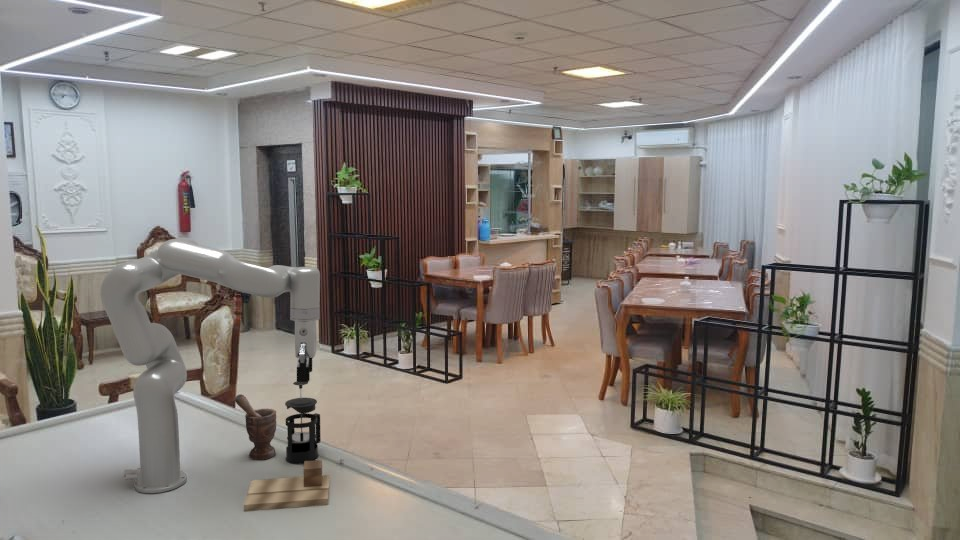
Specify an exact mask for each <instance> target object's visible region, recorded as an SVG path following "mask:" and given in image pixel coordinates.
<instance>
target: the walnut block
mask: <svg viewBox="0 0 960 540" xmlns="http://www.w3.org/2000/svg"><path fill="white" fill-rule="evenodd" d="M302 470H303V477H304V487H313V486H322V475H323V459H320V460H319V459H317V460H314V461H304V464H303V469H302Z"/></svg>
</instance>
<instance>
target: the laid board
mask: <svg viewBox="0 0 960 540" xmlns="http://www.w3.org/2000/svg"><path fill="white" fill-rule="evenodd" d="M329 495H330V487H329V488H326V489H312V490H299V491H285V492H271V493H258V494H248V493H247V494H246V498H245V501H244V504H243V512H249V511H250V512H251V511H252V512H253V511H263V510H276V509H286V508H287V509H288V508H289V509H291V508H302V507H316V506H327V505H329Z"/></svg>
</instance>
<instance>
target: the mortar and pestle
mask: <svg viewBox="0 0 960 540" xmlns="http://www.w3.org/2000/svg"><path fill="white" fill-rule="evenodd" d="M234 401H235V403H236V405H238V407H240V408H241V409H242V410H243V411H244V412H245V415H244V417H245V429H246V432H247V436H248V439H249V441H250V442H251V443H253V445H254V446H253V448H251V450H250V451H249V455H248V456H249V458H250V459H252V460H255V461H262V460H267V459H271V458H273V457H274V456H276V453H277V451H276V448H275V447H274V446H273V445H271V442H272V441H273V439H274V437H275V434H276V431H277V410H275V409H273V408H258V409H254V408H253V406H252V405H251V403H250V401H249V400H248V398H247V397H246V396H245V395H244V394H238V395H236V396H235V397H234Z"/></svg>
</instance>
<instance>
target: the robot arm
mask: <svg viewBox="0 0 960 540" xmlns="http://www.w3.org/2000/svg"><path fill="white" fill-rule="evenodd" d="M320 272H321V271H320V270H319V269H318V268H317V267H312V266H298V267H295V266H287V265H282V264H280V265H279V264H276V265H275V264H274V265H271V266H269V267H263V266H260V265H256V264H252V263H247V262H245V261H242V260H239V259H237V258H235V256H232V254H231V253H230V252H228V251H226V250H222V249H218V248H214V247H209V246H205V245H201V244H199V243H198V242H197V241H195V240H194V239H191V238H190V237H177V238H172V239H169V240H166V241H164V242H163V243H162V244H161V245H159V247H158V249H157V250H155V251H153V252H151V253H150V254H147V255H144V256H143V257H141V258H140V257H139V258H137V259H133V260H131V259H130V260H128V261H124V262H122V263H120V264H118V265H116V266H115V267H113V268H112V269H111V270H110V271H109V272H108V273H107V274H106V275H105V276H104V278H103V280H102V282H101V285H100V289H99V290H100V293H99V294H100V299H101V303H102V307H103V308H104V311H105V313H106V314H107V315H106V316H107V318H108V319H109V321H110V324H111V327H112V330H113V332H114V334H115V337H116V340H117V342H118V344H119V347H120V349H121V351H122V354H123V356H124V359H125V360H126V361H127V362H128V363H130V364H131V365H133V366H135V367H136V366H137V367H139V366H140V367H141V366H146V369H145V370H144V371H143V372H141V374H140V375H138V377H137V378H136V380H135V382H134V385H133V391H132V393H133V399H134V404H135V409H136V415H137V417H136V418H137V430H138V447H139V448H138V449H139V467H137V468H136V469H124V471H123V478H125V480H126V481H129V480H135V481H134V490H136V491H137V492H140V493H142V494H158V493H164V492H170V491H172V490H175V489H177V488H179V487H181V486H183V485H184V484H185V483H186V482H187V481H188V476H187V473H186V472H184V471H182V470H181V457H180V456H181V454H180V434H179V433H180V430H179V428H180V427H179V417H178V415H179V414H178V409H177V404H176V400H175V395H176V393H178V392H179V391H180V390H181V389H182V388H183V387H184V386H185V384H186V382H187V379H188V374H187V373H188V371H187V367H186V365H185V361H184V360H183V358H182V355H181V353H180V350H179V347H178V345H177V342H176V340H175V337H174V335H173V334H172V332H171V331H170V330H169V329H168V328H167V327H166V326H165V325H163V324H161V323H157V322H151V320H150V318H149V315H148V312H147V310H146V309H145V306H144V305H143V304H142V303H141V301H140V300H139V294H141V293H143V292H145V291H149V290H152V289H155V288H156V287H158V286H160V285H162V284H164V283H166V282H168V281H169V280H172V279H173V278H175V277H178V276H179V275H184V276H187V277H190V278H191V277H192V278H196V279H200V280H203V281H204V280H205V281H208V282H212V283H216V284H217V285H220V286H223V287H226V288H229V289H232V290H233V291H237V292H240V293H244V294H248V295H252V296H256V297H261V298H266V299H267V298H268V299H273V298H277V297H279V296H281V295H282V294H283V293H288V292H289V294H290V296H289V297H290V301H289V302H290V306H289V307H290V313H289V314H290V317H289V318H290V319H289V320H290V321H293V322H294V351H295V355H294V356H295V358H297V364H296V365H297V366H296V381H297V382H308V383H309V382H310V380H311V378H310V373H312V372H313V359H314V358H315V356H316V353H317V321H319V320H320V318H321V317H320V316H321V315H320V312H321V311H320V308H321V306H320V305H321V303H320V302H321V301H320V300H321V299H320V297H321V295H320V293H321V282H320V281H321V273H320Z"/></svg>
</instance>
